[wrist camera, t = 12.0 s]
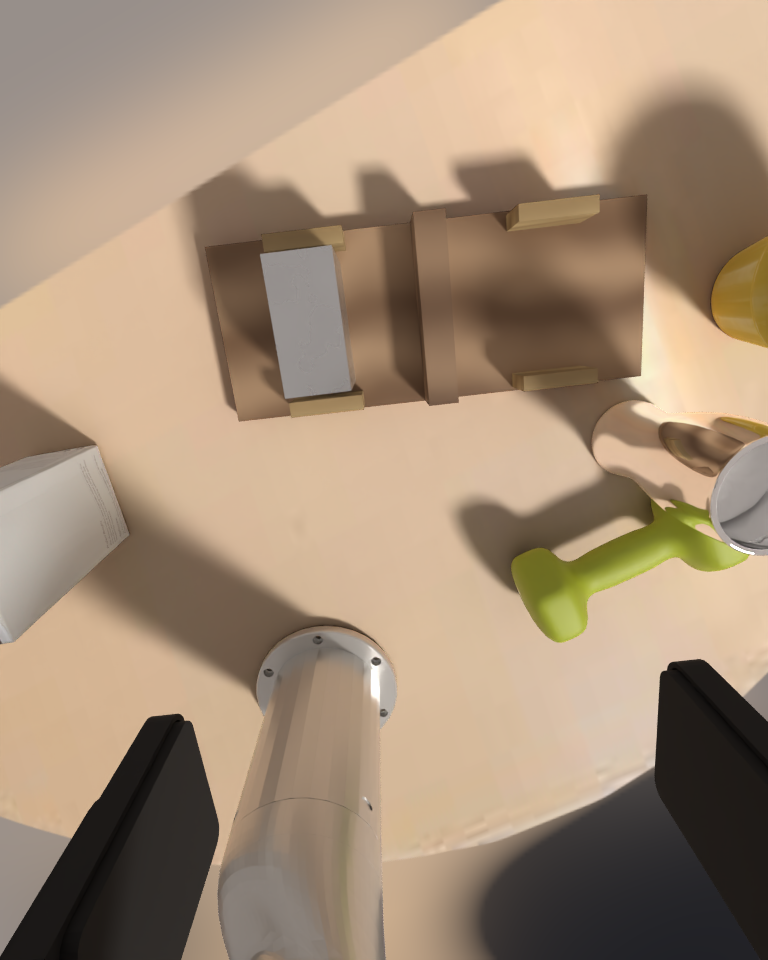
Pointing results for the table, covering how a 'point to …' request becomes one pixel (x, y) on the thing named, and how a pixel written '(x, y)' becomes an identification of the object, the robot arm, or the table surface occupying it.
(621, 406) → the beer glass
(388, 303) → the board
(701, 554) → the dumbbell
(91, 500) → the skincare box
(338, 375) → the grey rectangular block
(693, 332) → the table surface
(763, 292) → the plant pot
